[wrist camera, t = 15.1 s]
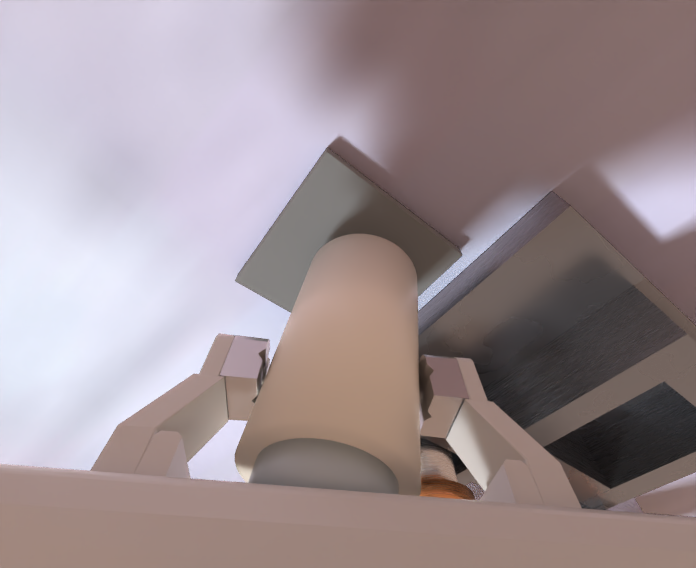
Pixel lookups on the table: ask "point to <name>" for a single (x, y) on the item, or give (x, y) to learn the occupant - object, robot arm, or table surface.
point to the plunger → (440, 473)
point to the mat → (339, 231)
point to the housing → (575, 355)
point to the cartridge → (343, 378)
